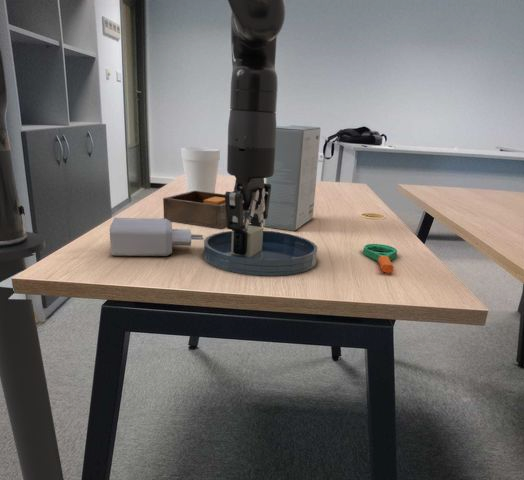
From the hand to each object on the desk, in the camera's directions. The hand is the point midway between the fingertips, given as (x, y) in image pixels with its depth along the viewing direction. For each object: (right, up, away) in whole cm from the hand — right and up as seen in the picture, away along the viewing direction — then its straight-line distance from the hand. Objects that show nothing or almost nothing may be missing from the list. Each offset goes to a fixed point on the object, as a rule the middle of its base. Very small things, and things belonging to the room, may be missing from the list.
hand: (247, 249), depth 81 cm
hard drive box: (+9, +12, +26) cm, 30 cm away
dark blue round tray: (+2, -2, 0) cm, 3 cm away
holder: (-10, +12, +25) cm, 29 cm away
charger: (-15, 0, 0) cm, 15 cm away
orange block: (-8, +12, +24) cm, 28 cm away
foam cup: (-13, +21, +41) cm, 48 cm away
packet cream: (0, 0, 0) cm, 0 cm away
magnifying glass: (+24, -2, +2) cm, 24 cm away
